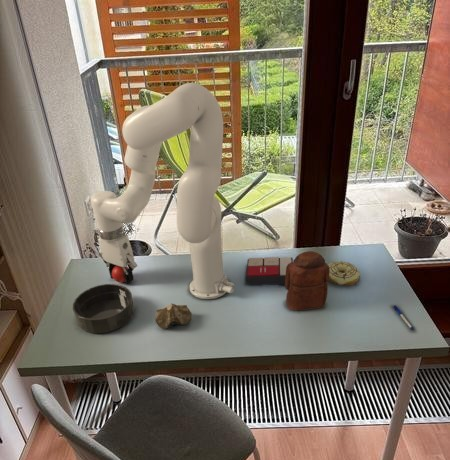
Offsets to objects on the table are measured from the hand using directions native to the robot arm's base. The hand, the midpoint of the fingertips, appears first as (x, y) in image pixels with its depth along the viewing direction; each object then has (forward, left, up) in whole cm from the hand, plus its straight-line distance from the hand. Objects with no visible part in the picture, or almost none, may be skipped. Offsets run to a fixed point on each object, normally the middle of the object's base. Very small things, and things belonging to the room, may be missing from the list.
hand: (122, 278), depth 144 cm
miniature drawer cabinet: (-42, -25, -1) cm, 49 cm away
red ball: (0, 0, +2) cm, 2 cm away
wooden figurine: (-58, -16, -1) cm, 60 cm away
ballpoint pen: (-85, -23, -1) cm, 88 cm away
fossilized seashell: (-28, +9, -1) cm, 29 cm away
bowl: (-8, +16, -1) cm, 18 cm away
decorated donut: (-63, -34, -1) cm, 72 cm away
